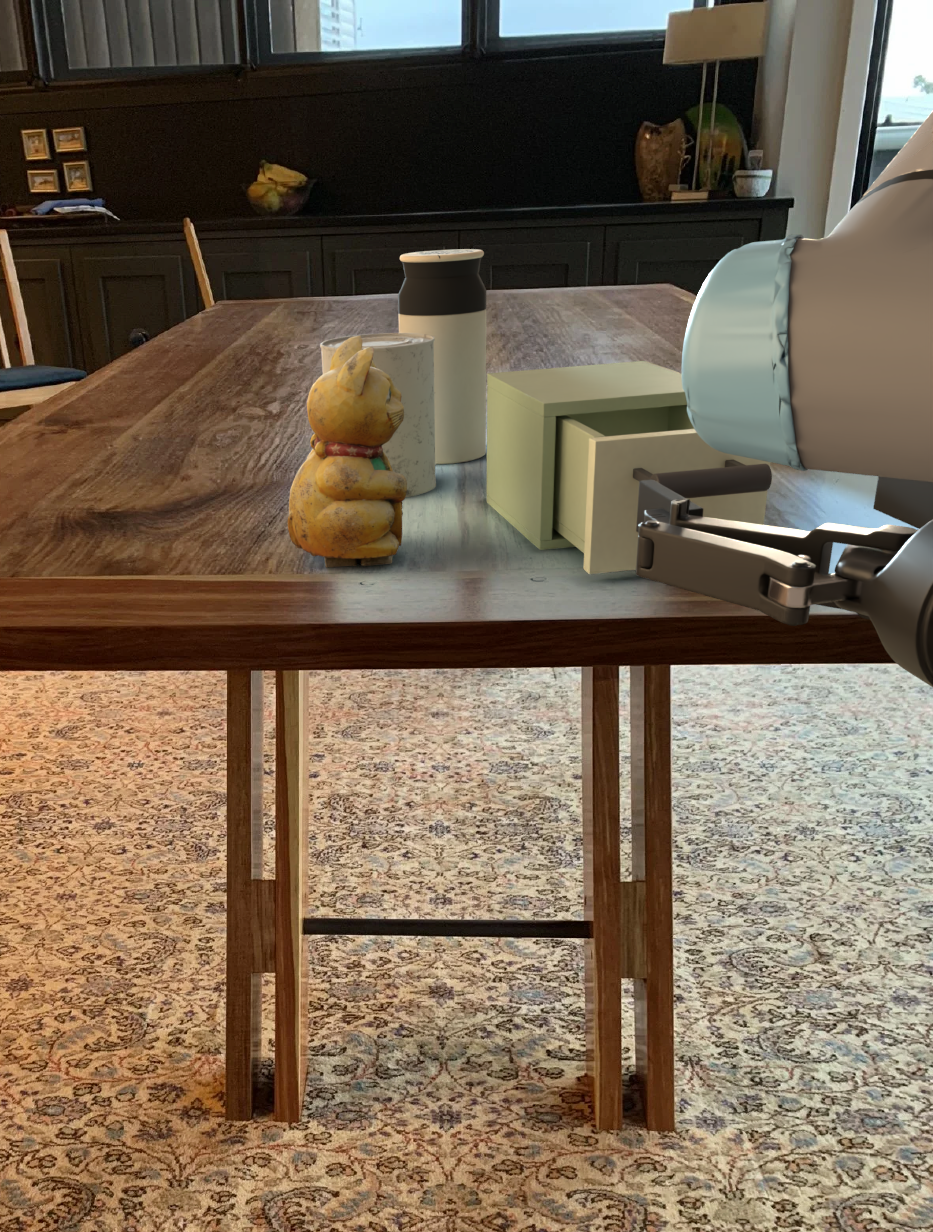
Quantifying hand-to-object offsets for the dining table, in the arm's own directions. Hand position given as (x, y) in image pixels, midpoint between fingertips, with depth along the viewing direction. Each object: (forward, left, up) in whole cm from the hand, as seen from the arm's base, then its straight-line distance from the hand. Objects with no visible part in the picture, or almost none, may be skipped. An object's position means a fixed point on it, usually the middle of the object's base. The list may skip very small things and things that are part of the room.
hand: (764, 494), depth 65 cm
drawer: (+8, -13, -7) cm, 17 cm away
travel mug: (+34, -42, -8) cm, 54 cm away
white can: (+35, -29, -8) cm, 46 cm away
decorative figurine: (+29, -8, -8) cm, 31 cm away
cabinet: (+15, -23, -8) cm, 28 cm away
